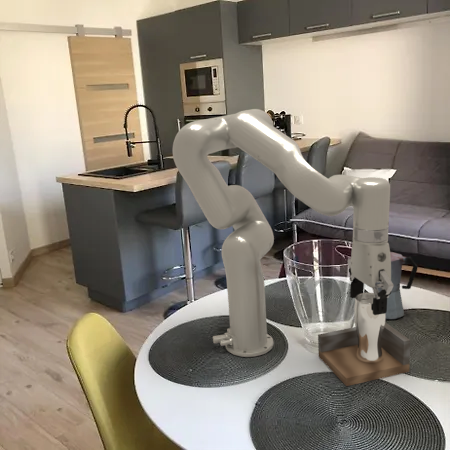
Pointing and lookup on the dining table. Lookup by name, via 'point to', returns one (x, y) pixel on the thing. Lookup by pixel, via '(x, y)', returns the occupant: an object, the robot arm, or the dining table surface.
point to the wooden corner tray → (357, 370)
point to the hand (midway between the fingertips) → (367, 305)
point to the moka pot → (398, 285)
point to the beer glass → (368, 329)
